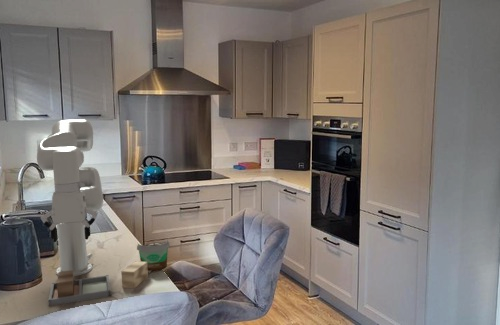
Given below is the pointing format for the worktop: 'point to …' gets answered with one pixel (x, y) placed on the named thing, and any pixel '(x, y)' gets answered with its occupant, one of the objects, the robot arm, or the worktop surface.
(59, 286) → the walnut block
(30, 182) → the worktop surface
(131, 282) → the pale oak block
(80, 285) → the slot organizer
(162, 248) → the food container
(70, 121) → the robot arm
